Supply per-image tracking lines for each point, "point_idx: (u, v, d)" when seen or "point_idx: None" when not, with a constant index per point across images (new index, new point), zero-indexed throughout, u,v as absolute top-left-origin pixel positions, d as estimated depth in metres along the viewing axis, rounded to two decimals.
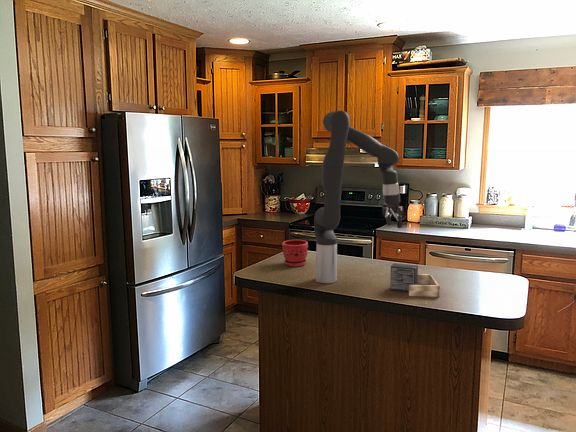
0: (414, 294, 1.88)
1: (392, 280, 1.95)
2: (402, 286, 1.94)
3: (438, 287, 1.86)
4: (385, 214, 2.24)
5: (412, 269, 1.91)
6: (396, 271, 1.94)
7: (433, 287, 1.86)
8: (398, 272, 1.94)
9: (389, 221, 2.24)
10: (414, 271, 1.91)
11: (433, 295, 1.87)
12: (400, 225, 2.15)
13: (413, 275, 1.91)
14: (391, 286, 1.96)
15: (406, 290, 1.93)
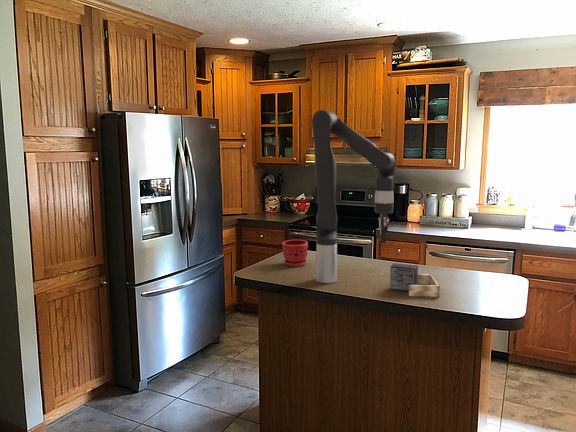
0: (414, 294, 1.88)
1: (392, 280, 1.95)
2: (402, 286, 1.94)
3: (438, 287, 1.86)
4: (381, 229, 1.96)
5: (412, 269, 1.91)
6: (396, 271, 1.94)
7: (433, 287, 1.86)
8: (398, 272, 1.94)
9: None
10: (414, 271, 1.91)
11: (433, 295, 1.87)
12: (383, 239, 1.94)
13: (413, 275, 1.91)
14: (391, 286, 1.96)
15: (406, 290, 1.93)
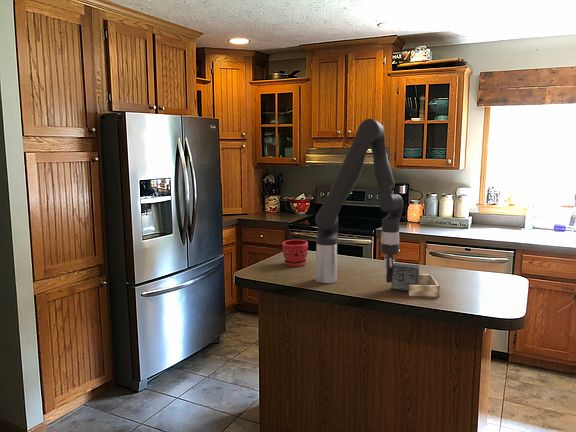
0: (414, 294, 1.88)
1: (394, 280, 1.95)
2: (403, 286, 1.94)
3: (438, 287, 1.86)
4: None
5: (413, 269, 1.91)
6: (398, 271, 1.94)
7: (433, 287, 1.86)
8: (400, 272, 1.94)
9: None
10: (415, 271, 1.91)
11: (433, 295, 1.87)
12: (389, 279, 1.96)
13: (414, 275, 1.91)
14: (392, 286, 1.96)
15: (407, 290, 1.93)
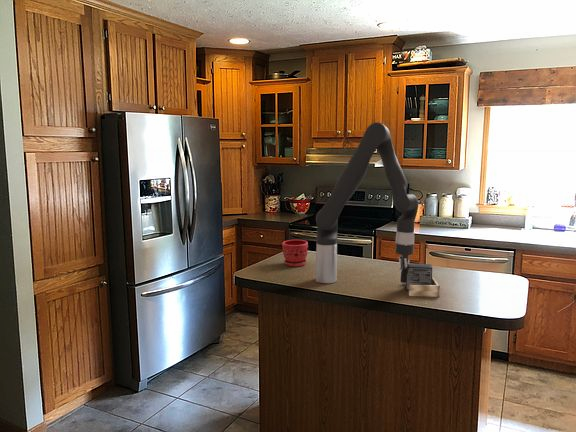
0: (414, 294, 1.88)
1: (408, 280, 1.94)
2: None
3: (438, 287, 1.86)
4: (401, 269, 1.97)
5: (429, 268, 1.92)
6: (413, 271, 1.93)
7: (433, 287, 1.86)
8: (415, 272, 1.93)
9: None
10: (431, 270, 1.92)
11: (433, 295, 1.87)
12: (403, 280, 1.95)
13: (430, 274, 1.92)
14: (407, 286, 1.95)
15: None
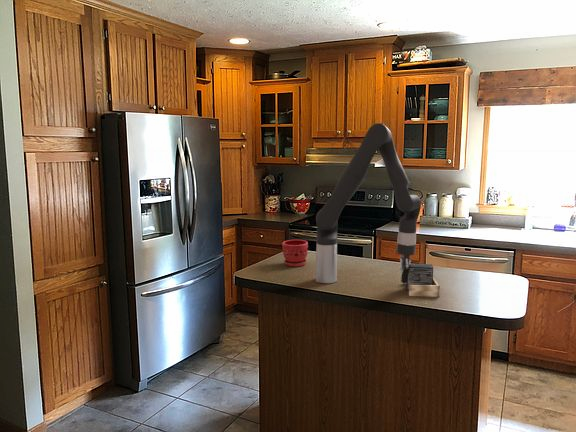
0: (414, 294, 1.88)
1: (409, 280, 1.94)
2: None
3: (438, 287, 1.86)
4: (402, 269, 1.97)
5: (430, 268, 1.92)
6: (414, 271, 1.93)
7: (433, 287, 1.86)
8: (415, 272, 1.93)
9: None
10: (432, 270, 1.92)
11: (433, 295, 1.87)
12: (404, 280, 1.95)
13: (431, 274, 1.92)
14: (408, 286, 1.95)
15: None
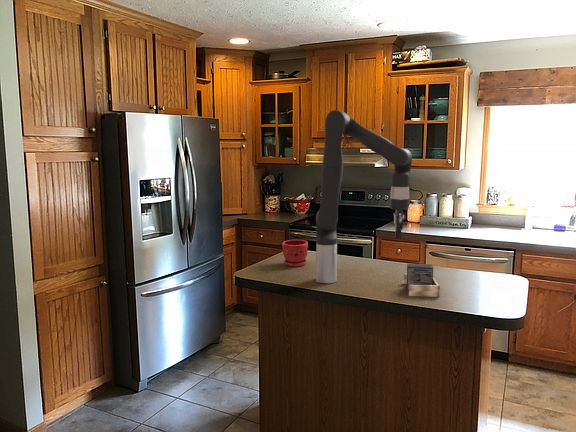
0: (414, 294, 1.88)
1: (409, 280, 1.94)
2: None
3: (438, 287, 1.86)
4: (396, 225, 1.95)
5: (430, 268, 1.92)
6: (413, 272, 1.93)
7: (433, 287, 1.86)
8: (415, 272, 1.93)
9: None
10: (432, 270, 1.92)
11: (433, 295, 1.87)
12: (398, 236, 1.92)
13: (431, 274, 1.92)
14: (408, 287, 1.95)
15: None
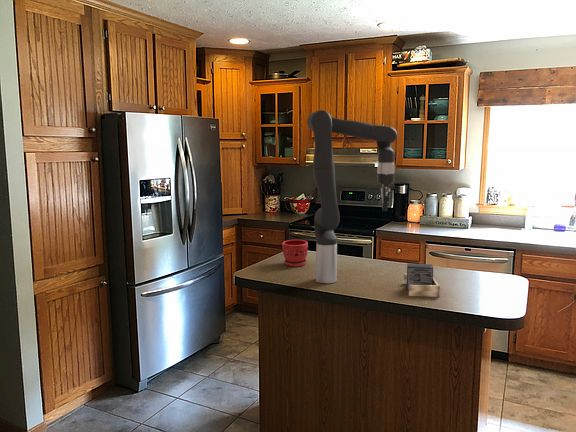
0: (414, 294, 1.88)
1: (409, 280, 1.94)
2: None
3: (438, 287, 1.86)
4: (383, 199, 2.12)
5: (430, 268, 1.92)
6: (413, 272, 1.93)
7: (433, 287, 1.86)
8: (415, 272, 1.93)
9: None
10: (432, 270, 1.92)
11: (433, 295, 1.87)
12: (385, 208, 2.09)
13: (431, 274, 1.92)
14: (408, 286, 1.95)
15: None
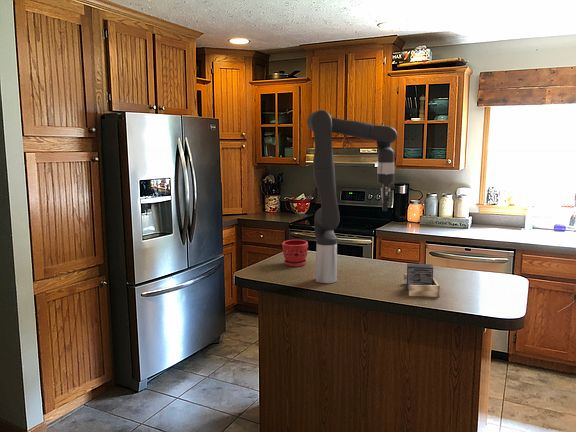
0: (414, 294, 1.88)
1: (409, 280, 1.94)
2: None
3: (438, 287, 1.86)
4: (383, 199, 2.12)
5: (430, 268, 1.92)
6: (413, 272, 1.93)
7: (433, 287, 1.86)
8: (415, 272, 1.93)
9: None
10: (432, 270, 1.92)
11: (433, 295, 1.87)
12: (385, 208, 2.09)
13: (431, 274, 1.92)
14: (408, 287, 1.95)
15: None
